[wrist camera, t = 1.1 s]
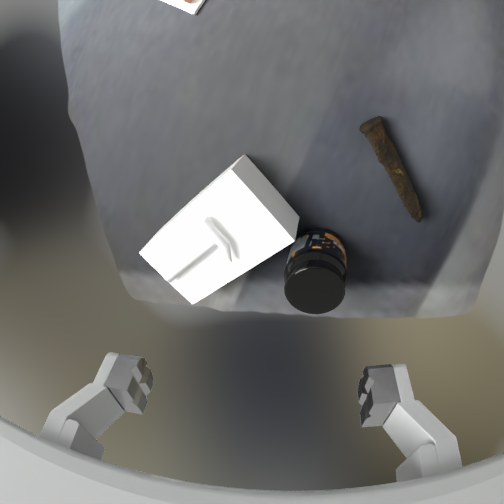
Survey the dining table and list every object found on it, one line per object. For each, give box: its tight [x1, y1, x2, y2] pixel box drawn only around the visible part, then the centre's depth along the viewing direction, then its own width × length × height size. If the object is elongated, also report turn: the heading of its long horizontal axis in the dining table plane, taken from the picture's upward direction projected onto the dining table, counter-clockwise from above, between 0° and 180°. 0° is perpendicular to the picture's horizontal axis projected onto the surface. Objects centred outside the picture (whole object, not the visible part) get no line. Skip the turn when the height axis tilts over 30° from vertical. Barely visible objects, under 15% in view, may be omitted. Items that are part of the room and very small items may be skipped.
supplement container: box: [284, 229, 348, 314], centre depth 53 cm, size 10×10×12 cm
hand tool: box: [359, 116, 423, 222], centre depth 45 cm, size 19×4×5 cm, turn 33°
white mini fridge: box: [139, 154, 299, 305], centre depth 55 cm, size 14×25×11 cm, turn 132°
